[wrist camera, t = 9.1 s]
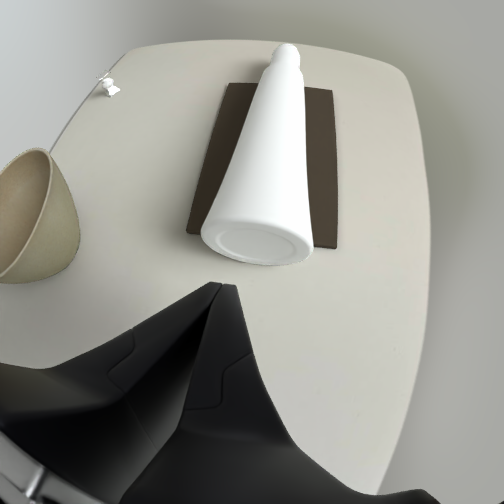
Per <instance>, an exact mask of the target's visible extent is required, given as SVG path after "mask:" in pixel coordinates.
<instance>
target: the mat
mask: <svg viewBox="0 0 504 504" xmlns="http://www.w3.org/2000/svg"><path fill="white" fill-rule="evenodd" d="M258 84H259V83H229V85H228V87H227V90H226V93H225V96H224V99H223V102H222V105H221V108H220V111H219V114H218V117H217V120H216V123H215V127H214V130H213V133H212V136H211V140H210V143H209V146H208V150H207V153H206V156H205V160H204V163H203V167H202V171H201V174H200V178H199V182H198V185H197V189H196V193H195V197H194V201H193V204H192V208H191V212H190V217H189V221H188V225H187V229H186V232H187V233H192V234H201V228H202V226H203V224H204V221H205V219H206V217H207V215H208V213H209V211H210V209H211V207H212V204H213V202H214V200H215V198H216V196H217V193H218V191H219V189H220V186H221V184H222V182H223V179H224V177H225V174H226V172H227V169H228V167H229V164H230V162H231V159H232V156H233V154H234V151H235V148H236V146H237V143H238V140H239V137H240V134H241V131H242V129H243V126H244V123H245V120H246V117H247V114H248V111H249V109H250V106H251V103H252V100H253V97H254V94H255V92H256V89H257V87H258ZM304 95H305V131H306V167H307V185H308V199H309V211H310V221H311V230H312V238H313V247H322V248H331V249H336V248H337V226H338V179H337V149H336V130H335V116H334V104H333V93H332V90H326V89H319V88H311V87H304Z"/></svg>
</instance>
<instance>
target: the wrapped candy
mask: <svg viewBox="0 0 504 504" xmlns="http://www.w3.org/2000/svg"><path fill="white" fill-rule="evenodd" d="M110 73H111V72H110V71H107V70H105V71H104V72H103V73H101V74H100V75H98V76H97V77H96V78H98V79H99V80H102V81H103V82H102V87H103V88H104V89H106V93H105V94H106V95H107V96H109V97H111V96H112V95H114V94H115V93H116V92H117V91H119V90H120V89H118V88H116V87H114V86H113V84H114V82H113V79H111V78H109V77H110Z"/></svg>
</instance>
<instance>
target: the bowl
mask: <svg viewBox="0 0 504 504" xmlns="http://www.w3.org/2000/svg"><path fill="white" fill-rule="evenodd" d="M79 242H80V228H79V221H78V216H77V212H76V208H75V205H74V201H73V198H72V196H71V193H70V190H69V188H68V186H67V183H66V181H65V179H64V177H63V175H62V173H61V171H60V170H59V168H58V166H57V165H56V163H55V161H54V160H53V158H52V157H51V156H50V154H49V153H48V152H47V151H46V150H45V149H42V148H32V149H29V150H26V151H25V152H23V153H21V154H19V155H18V156H16V157H15V158H14V159H13V160H12V161H10V162H9V163H8V164H7V165H6V166H5V167H4V169H3V170H2V171H1V172H0V283H4V284H20V283H28V282H33V281H37V280H41V279H44V278H47V277H50V276H52V275H54V274H56V273H58V272H60V271H61V270H63V269H64V268H66V267H67V266H68V265H69V264H70V262H71V261H72V260H73V258H74V256H75V254H76V252H77V250H78V246H79Z"/></svg>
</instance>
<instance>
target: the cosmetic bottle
mask: <svg viewBox="0 0 504 504" xmlns="http://www.w3.org/2000/svg"><path fill="white" fill-rule="evenodd" d="M299 67H300V54H299V52H298V51H297V49H296V47H295V46H293V45H291V44H287V43H285V44H281V45H279V46H278V47H277V48H276V49H275V50H274V52H273V54H272V58H271V62H270V66H268V67H267V68H266V69H265V70H264V72H263V74H262V77H261V79H260V81H259V84H258V87H257V89H256V92H255V94H254V97H253V100H252V103H251V106H250V109H249V111H248V114H247V117H246V120H245V123H244V126H243V129H242V131H241V134H240V137H239V140H238V143H237V146H236V148H235V151H234V154H233V156H232V159H231V162H230V164H229V167H228V169H227V172H226V174H225V177H224V179H223V182H222V184H221V186H220V189H219V191H218V193H217V196H216V198H215V200H214V202H213V204H212V207H211V209H210V211H209V213H208V215H207V217H206V219H205V221H204V224H203V226H202V228H201V237H202V239H203V241H204V242H205V243H206V244H207V245H208V246H209V247H210V248H211V249H213V250H214V251H216V252H218V253H220V254H222V255H224V256H226V257H229V258H232V259H235V260H238V261H242V262H247V263H252V264H259V265H271V266H278V265H289V264H294V263H298V262H301V261H303V260H305V259H306V258H308V257H309V256H310V255H311V253H312V251H313V238H312V230H311V221H310V211H309V199H308V185H307V167H306V131H305V95H304V81H303V76H302V73H301V72H300V71H299Z"/></svg>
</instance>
